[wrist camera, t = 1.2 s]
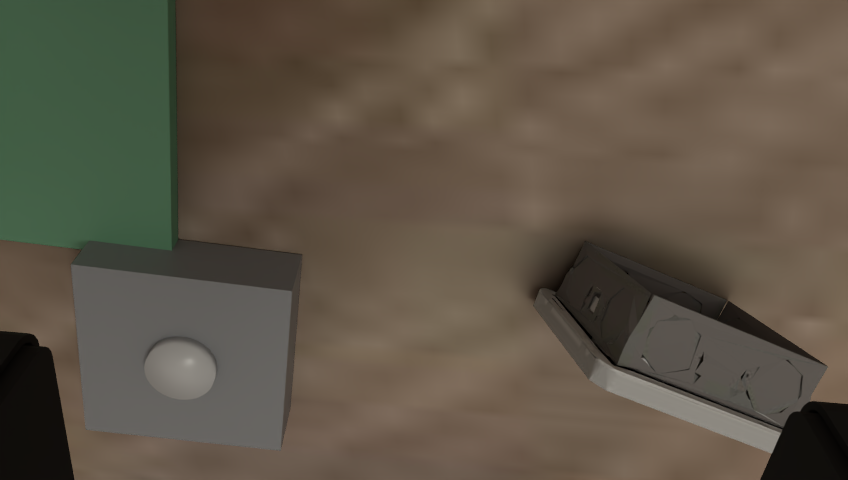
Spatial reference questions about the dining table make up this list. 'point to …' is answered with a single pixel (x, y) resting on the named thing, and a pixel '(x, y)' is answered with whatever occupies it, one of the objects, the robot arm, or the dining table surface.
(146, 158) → the board
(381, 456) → the dining table surface
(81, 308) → the grey knob block
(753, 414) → the electrical switch
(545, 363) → the dining table surface
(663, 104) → the dining table surface
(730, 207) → the dining table surface
